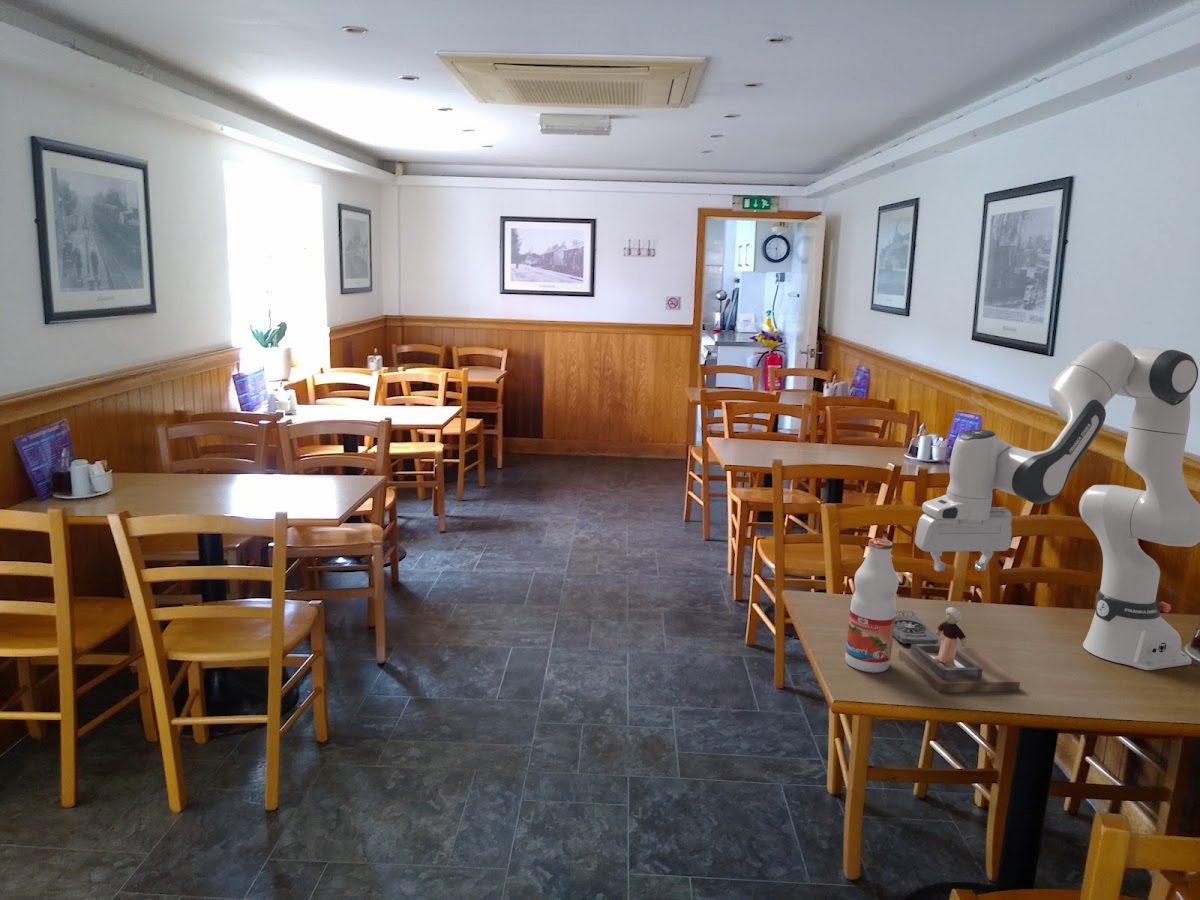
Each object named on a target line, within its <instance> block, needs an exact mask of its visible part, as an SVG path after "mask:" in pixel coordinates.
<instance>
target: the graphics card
mask: <svg viewBox="0 0 1200 900" xmlns="http://www.w3.org/2000/svg"><path fill="white" fill-rule="evenodd" d="M916 614H917V612H916V610H896V616H895V624H894V632H893V637H894V638H895V639H896V640H898V642H900V643H901V642H902V643H901V644H905V645H906V644H939V638H938V637H937V635H936V634H934V632H933V631H932V630H931V629H929V627H927V626H926V624H925V623H924V622H923V621H922V620H921V619H920V618H919V617H918V616H917V615H916Z"/></svg>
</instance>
